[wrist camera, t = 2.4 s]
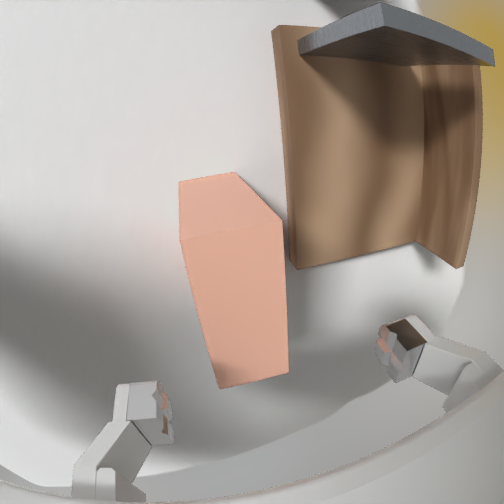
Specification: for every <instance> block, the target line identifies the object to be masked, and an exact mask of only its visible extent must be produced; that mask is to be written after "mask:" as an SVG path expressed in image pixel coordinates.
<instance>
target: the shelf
mask: <svg viewBox="0 0 504 504" xmlns="http://www.w3.org/2000/svg"><path fill="white" fill-rule="evenodd" d="M318 29H320V28H319V27H307V26H291V25H278V26H277V27H276V28H275V29H273V30H272V31H271V33H272V41H273V50H274V58H275V67H276V77H277V86H278V96H279V107H280V117H281V129H282V141H283V153H284V166H285V180H286V195H287V212H288V230H289V250H290V261H291V262H292V264H293V265H294V266H295V268H296V269H297V270H300V269H304V268H309V267H313V266H317V265H321V264H326V263H330V262H334V261H338V260H343V259H347V258H351V257H355V256H359V255H363V254H367V253H371V252H375V251H379V250H383V249H387V248H391V247H395V246H399V245H403V244H407V243H411V242H415V241H416V242H418V243H419V244H421V245H422V246H424V247H425V248H427V249H428V250H430V251H431V252H432V253H434V254H435V255H437V256H438V257H440V258H441V259H443V260H444V261H445V262H447V263H448V264H450V265H451V266H452V267H454V268H455V269H457V268H460V267H462V266H464V262H465V258H466V254H467V249H468V245H469V240H470V236H471V230H472V225H473V219H474V214H475V208H476V202H477V194H478V187H479V178H480V168H481V154H482V130H483V129H482V128H483V127H482V126H483V117H482V116H483V112H482V111H483V109H482V86H481V73H480V66H478V65H420V66H404V67H402V66H397V65H391V64H386V63H379V62H373V61H366V60H358V59H349V58H338V57H325V56H305V55H299V51H298V43H297V40H299V39H301V38H302V37H304V36H306V35H308V34H310V33H312V32H314V31H316V30H318Z"/></svg>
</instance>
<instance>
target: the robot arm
mask: <svg viewBox="0 0 504 504" xmlns="http://www.w3.org/2000/svg"><path fill="white" fill-rule="evenodd" d="M378 334H379V335H380V336H381V337H380V338H379V339H378V341H377V342H376V347H375V350H376V355H377V358H378V360H379V361H380V363H381V364H383V365H385V366H387V372H388V374H389V375H390V377H391V378H392V379H393V381H394V382H395V383H397V382H399V381H401V380H404V379H406V378H408V377H411V376H413V377H414V378H416V379H418V380H420V381H421V382H423V383H425V384H427V385H429V386H431V387H433V388H435V389H437V390H438V391H440V392H442V393H444V394H446V395H448V397H447V399H446V400H445V402H444V403H443V408H444V410H445V411H446V414H444V415H443V416H441V417H440V418H438V419H437V420H435V421H433V422H431V423H430V424H428V425H427V426H425V427H423V428H421V429H419V430H418V431H416V432H414V433H412V434H410V435H409V436H407V437H405V438H403V439H401V440H399V441H397V442H395V443H393V444H391V445H389V446H387V447H385V448H383V449H381V450H379V451H377V452H374V453H372V454H370V455H367V456H365V457H363V458H360V459H358V460H356V461H353V462H351V463H348V464H345V465H343V466H340V467H338V468H335V469H332V470H329V471H326V472H323V473H321V474H317V475H314V476H311V477H308V478H305V479H301V480H298V481H295V482H291V483H287V484H283V485H280V486H276V487H271V488H267V489H263V490H258V491H254V492H249V493H243V494H237V495H231V496H224V497H218V498H210V499H200V500H190V501H176V502H146V494H145V493H144V492H143V491H141V490H140V489H138V488H137V487H136V486H134V485H133V484H132V483H133V481H134V479H135V477H136V476H137V474H138V472H139V470H140V468H141V467H142V465H143V463H144V461H145V459H146V457H147V456H148V454H149V452H150V450H151V448H152V446H156V445H165V444H174V432H173V427H172V425H171V424H170V421H171V419H172V418H173V416H172V408H171V403H170V400H169V398H168V396H167V394H166V393H164V392H163V386H162V384H161V383H160V381H158V380H157V381H148V382H136V383H126V384H118V386H117V388H116V394H115V402H114V410H113V420H112V422H108V423H107V425H106V426H105V427H104V428H103V429H102V431H101V432H100V433H99V434H98V436H97V437H96V438H95V439H94V441H93V442H92V443H91V444H90V446H89V447H88V448H87V449H86V450H85V452H84V453H83V454H82V455H81V457H80V458H79V459H78V460H77V462H76V463H75V464H74V469H73V479H72V491H71V496H64V495H59V494H54V493H48V492H44V491H39V490H35V489H31V488H27V487H23V486H20V485H16V484H13V483H10V482H6V481H3V480H0V504H504V371H503V369H502V368H501V367H500V366H499V365H498V364H497V363H496V362H495V361H494V360H493V359H492V358H491V357H490V356H489V355H488V354H487V353H486V352H484V351H481V350H478V349H476V348H473V347H469V346H467V345H463V344H461V343H458V342H455V341H452V340H449V339H446V338H443V337H438V338H437V337H436V336H435V335H434V334H433V332H432V331H431V330H430V329H429V328H428V327H427V326H426V325H425V324H424V323H423V322H422V321H421V320H420V319H419V318H418V317H417V316H416V315H414V314H411V315H409V316H406V317H404V318H401V319H398V320H395V321H393V322H390V323H388V324H385V325H382V326H381V327H380V329H379V333H378Z"/></svg>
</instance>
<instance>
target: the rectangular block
mask: <svg viewBox="0 0 504 504" xmlns="http://www.w3.org/2000/svg"><path fill="white" fill-rule="evenodd" d="M179 235H180V244H181V248H182V253H183V257H184V261H185V265H186V270H187V274H188V278H189V282H190V286H191V290H192V294H193V298H194V302H195V305H196V309H197V313H198V317H199V320H200V324H201V328H202V331H203V335H204V338H205V342H206V345H207V349H208V352H209V356H210V359H211V362H212V366H213V369H214V372H215V376H216V381H217V384H218V387H219V388H220V389H224V388H228V387H233V386H237V385H242V384H246V383H250V382H254V381H258V380H262V379H266V378H270V377H274V376H278V375H281V374H285V373H288V372H289V360H288V327H287V302H286V280H285V260H284V242H283V226H282V220H281V219H280V218H279V217H278V216H277V215H276V214H275V212H274V211H273V210H272V209H271V208H270V207H269V206H268V205H267V204H266V203H265V202H264V201H263V200H262V199H261V198H260V197H259V196H258V195H257V194H256V193H255V192H254V191H253V190H252V189H251V188H250V187H249V186H248V185H247V184H246V183H245V182H244V181H243V180H242V179H241V178H240V177H239V176H238V175H237V174H236V173H235V172H230V173H224V174H218V175H212V176H207V177H201V178H196V179H190V180H185V181H180V182H179Z"/></svg>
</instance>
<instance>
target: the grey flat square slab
mask: <svg viewBox="0 0 504 504" xmlns="http://www.w3.org/2000/svg"><path fill="white" fill-rule="evenodd" d="M297 43H298V51H299V55H305V56H325V57H338V58H349V59H358V60H366V61H373V62H379V63H386V64H391V65H397V66H402V67H404V66H420V65H478V66H493V67H494V66H495V61H494V53H493V49H491V48H490V47H488V46H486V45H484V44H482V43H481V42H479V41H476V40H475V39H473V38H471V37H469V36H467V35H465V34H463V33H461V32H459V31H456V30H455V29H452V28H450V27H448V26H446V25H443V24H441V23H438V22H436V21H434V20H431V19H429V18H426V17H423V16H421V15H418V14H415V13H412V12H410V11H407V10H404V9H401V8H397V7H394V6H391V5H387V4H384V3H378V4H375V5H372V6H370V7H367V8H365V9H362V10H360V11H357V12H355V13H353V14H350V15H348V16H346V17H343V18H341V19H339V20H337V21H335V22H333V23H330V24H328V25H326V26H324V27H322V28H320V29H318V30H316V31H314V32H312V33H310V34H308V35H306V36H304V37H302V38H301V39H299V40H297Z"/></svg>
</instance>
